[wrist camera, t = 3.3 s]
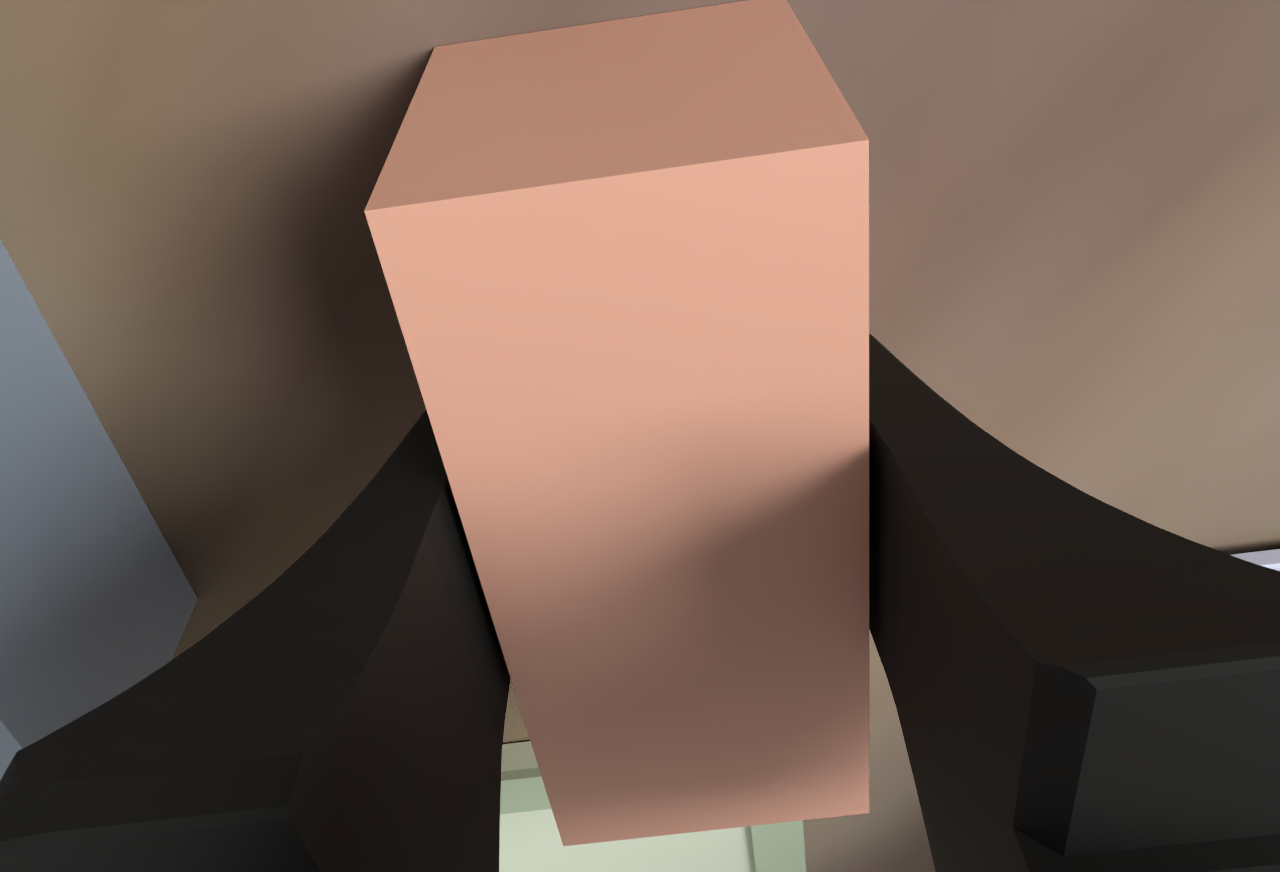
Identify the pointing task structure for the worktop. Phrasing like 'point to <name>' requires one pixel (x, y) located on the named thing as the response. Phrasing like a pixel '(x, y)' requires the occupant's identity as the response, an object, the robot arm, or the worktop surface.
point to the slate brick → (69, 544)
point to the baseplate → (633, 868)
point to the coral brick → (653, 402)
